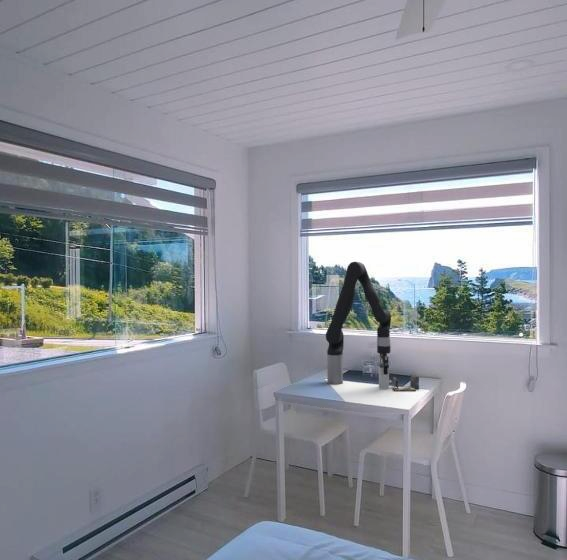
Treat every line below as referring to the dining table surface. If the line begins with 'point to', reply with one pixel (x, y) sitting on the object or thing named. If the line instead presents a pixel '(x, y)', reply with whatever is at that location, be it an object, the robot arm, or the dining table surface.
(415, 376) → the test stand
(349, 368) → the dining table surface
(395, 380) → the gauge plunger
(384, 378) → the force gauge
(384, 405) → the dining table surface
